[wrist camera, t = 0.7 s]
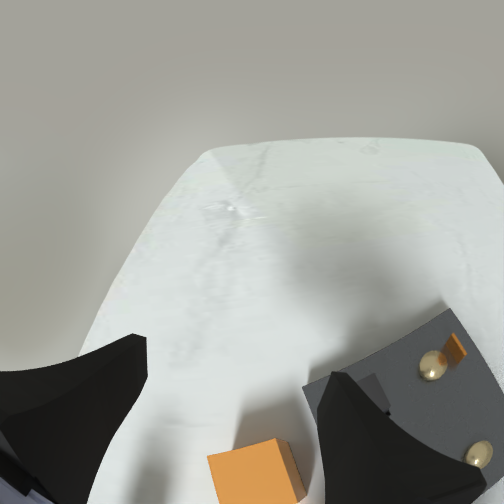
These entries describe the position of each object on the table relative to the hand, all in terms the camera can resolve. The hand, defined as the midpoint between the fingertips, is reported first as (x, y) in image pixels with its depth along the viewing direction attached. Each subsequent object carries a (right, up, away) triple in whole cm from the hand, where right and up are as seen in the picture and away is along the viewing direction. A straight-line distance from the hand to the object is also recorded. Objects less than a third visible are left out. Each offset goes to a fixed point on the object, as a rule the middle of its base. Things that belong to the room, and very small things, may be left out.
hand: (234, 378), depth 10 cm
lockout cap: (+2, -15, +9) cm, 18 cm away
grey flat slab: (+15, -11, +8) cm, 20 cm away
